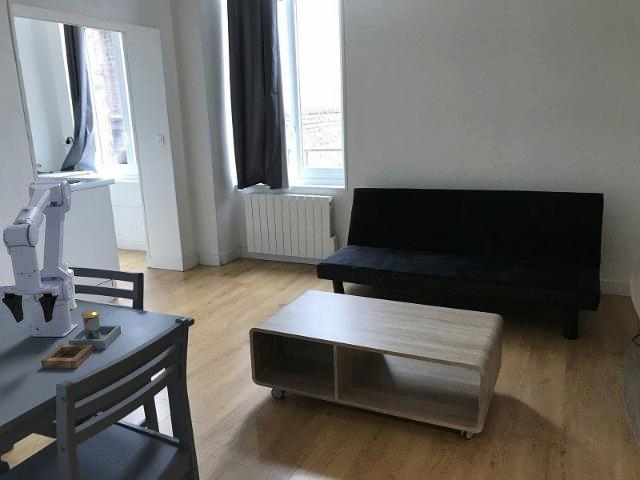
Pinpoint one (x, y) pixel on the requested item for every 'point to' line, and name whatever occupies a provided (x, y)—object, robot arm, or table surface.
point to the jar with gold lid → (91, 324)
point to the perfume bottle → (72, 301)
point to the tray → (107, 338)
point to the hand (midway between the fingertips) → (34, 321)
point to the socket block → (56, 362)
